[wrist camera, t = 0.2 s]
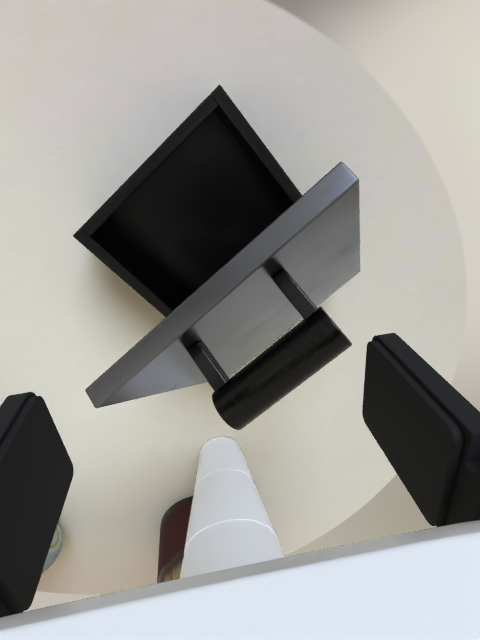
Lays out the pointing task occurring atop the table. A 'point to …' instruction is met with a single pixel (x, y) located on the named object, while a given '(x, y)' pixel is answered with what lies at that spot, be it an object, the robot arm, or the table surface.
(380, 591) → the robot arm
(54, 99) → the table surface
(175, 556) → the vase
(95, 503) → the table surface
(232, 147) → the open box
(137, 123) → the table surface
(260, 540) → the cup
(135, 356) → the lid
